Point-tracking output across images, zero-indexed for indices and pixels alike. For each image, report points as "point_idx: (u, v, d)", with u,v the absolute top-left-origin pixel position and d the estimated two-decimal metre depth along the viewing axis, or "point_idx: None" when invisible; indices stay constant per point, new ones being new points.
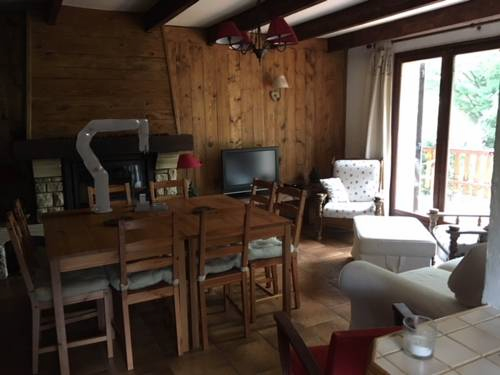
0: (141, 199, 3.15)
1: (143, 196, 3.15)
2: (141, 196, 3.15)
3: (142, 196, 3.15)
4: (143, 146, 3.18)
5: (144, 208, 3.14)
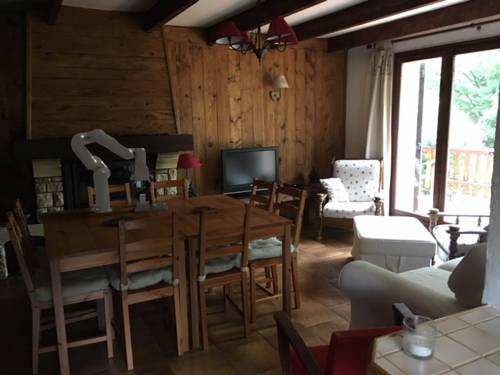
0: (141, 199, 3.15)
1: (143, 196, 3.15)
2: (141, 196, 3.15)
3: (142, 196, 3.15)
4: (148, 175, 3.14)
5: (144, 208, 3.14)
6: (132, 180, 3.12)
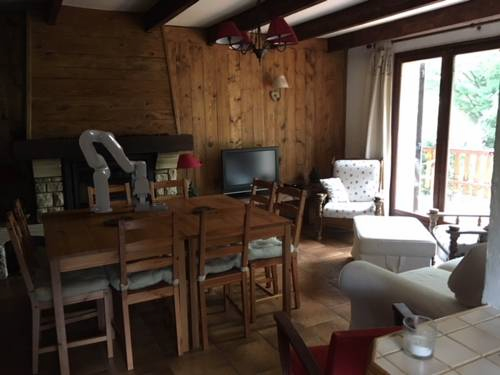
0: (141, 199, 3.15)
1: (143, 196, 3.15)
2: (141, 196, 3.15)
3: (142, 196, 3.15)
4: (148, 188, 3.15)
5: (144, 208, 3.14)
6: (136, 194, 3.14)
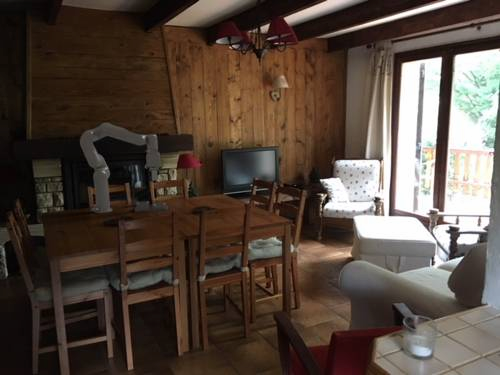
0: (153, 172, 3.14)
1: (155, 169, 3.14)
2: (153, 169, 3.13)
3: (154, 169, 3.14)
4: (160, 161, 3.14)
5: (144, 208, 3.14)
6: (148, 168, 3.13)
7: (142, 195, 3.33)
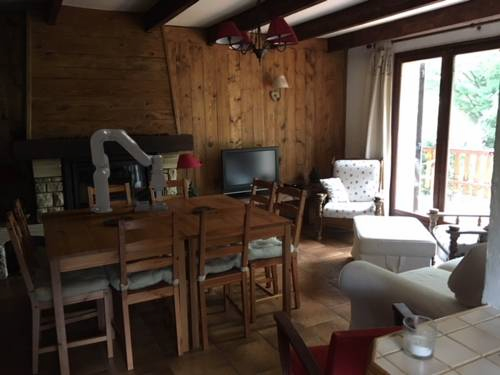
0: (158, 193, 3.17)
1: (159, 190, 3.17)
2: (158, 190, 3.17)
3: (158, 190, 3.17)
4: (165, 182, 3.17)
5: (144, 208, 3.14)
6: (152, 188, 3.17)
7: (142, 195, 3.33)
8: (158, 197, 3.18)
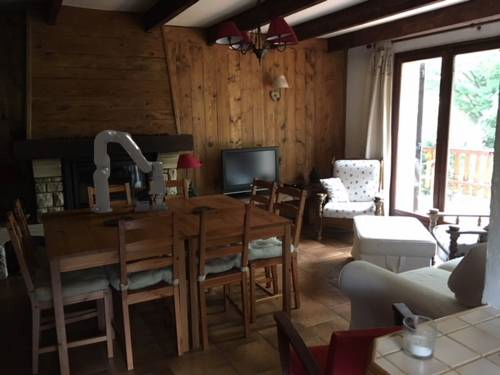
0: (158, 201, 3.18)
1: (160, 198, 3.18)
2: (158, 198, 3.18)
3: (159, 198, 3.18)
4: (165, 188, 3.18)
5: (144, 208, 3.14)
6: (151, 194, 3.17)
7: (142, 195, 3.33)
8: None
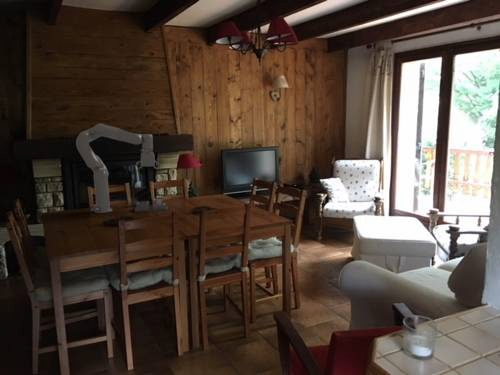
0: (158, 201, 3.18)
1: (160, 198, 3.18)
2: (158, 198, 3.18)
3: (159, 198, 3.18)
4: (154, 161, 3.17)
5: (144, 208, 3.14)
6: (138, 165, 3.16)
7: (142, 195, 3.33)
8: None
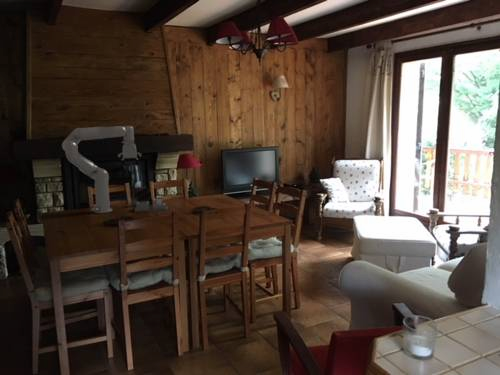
0: (158, 201, 3.18)
1: (160, 198, 3.18)
2: (158, 198, 3.18)
3: (159, 198, 3.18)
4: (136, 153, 3.21)
5: (144, 208, 3.14)
6: (120, 157, 3.20)
7: (142, 195, 3.33)
8: None
